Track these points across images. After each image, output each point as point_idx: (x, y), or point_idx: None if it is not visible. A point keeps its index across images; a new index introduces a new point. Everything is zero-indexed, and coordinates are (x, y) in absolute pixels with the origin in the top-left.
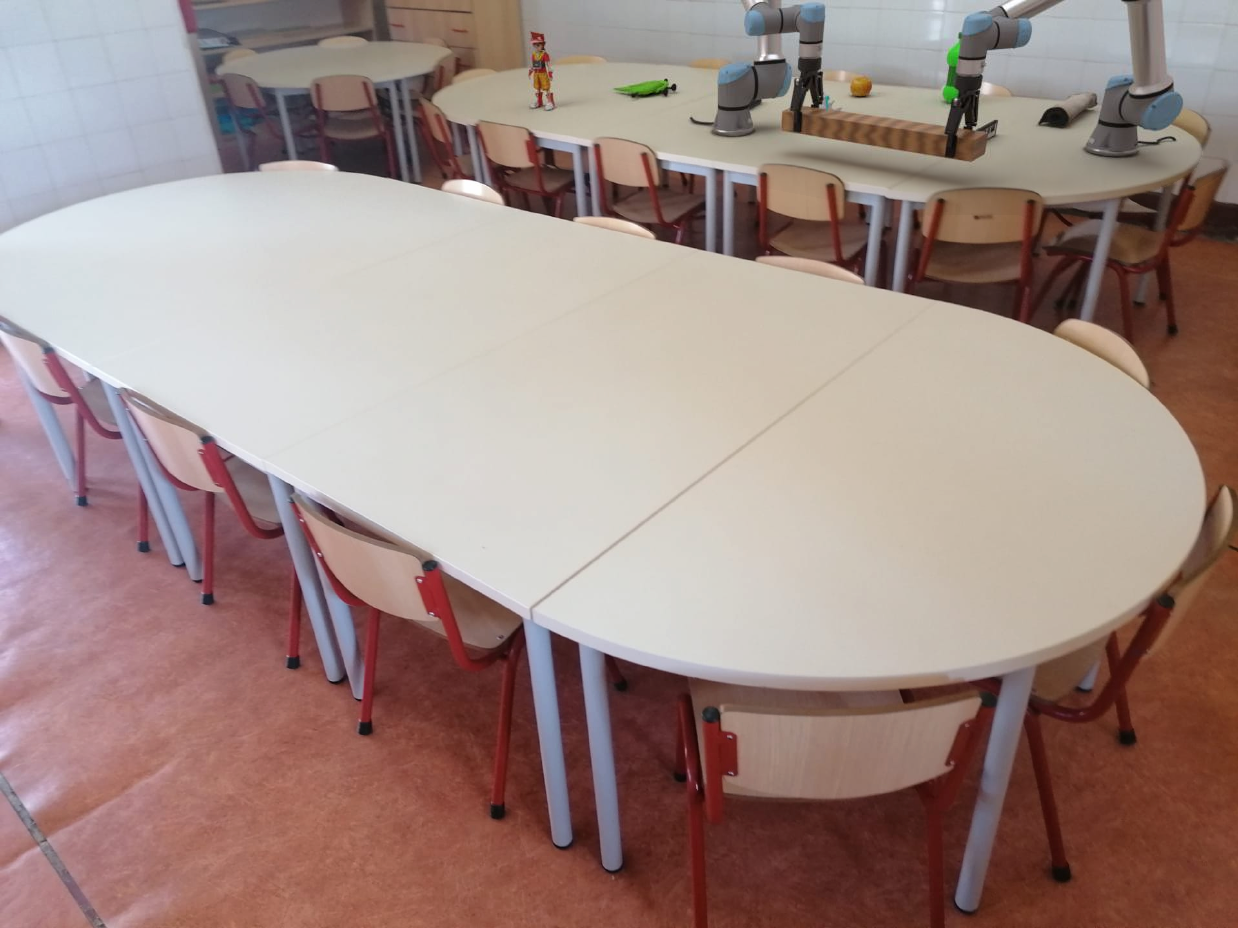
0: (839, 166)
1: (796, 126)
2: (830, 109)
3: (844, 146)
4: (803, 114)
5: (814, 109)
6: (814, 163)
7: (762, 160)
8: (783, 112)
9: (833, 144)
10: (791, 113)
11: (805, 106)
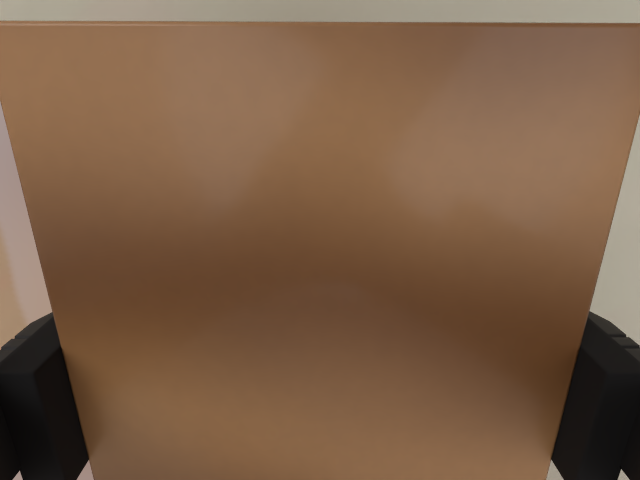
0: None
1: None
2: None
3: (607, 305)
4: (93, 476)
5: (436, 471)
6: None
7: (49, 20)
8: (8, 65)
9: (630, 231)
10: (50, 264)
11: (579, 256)
